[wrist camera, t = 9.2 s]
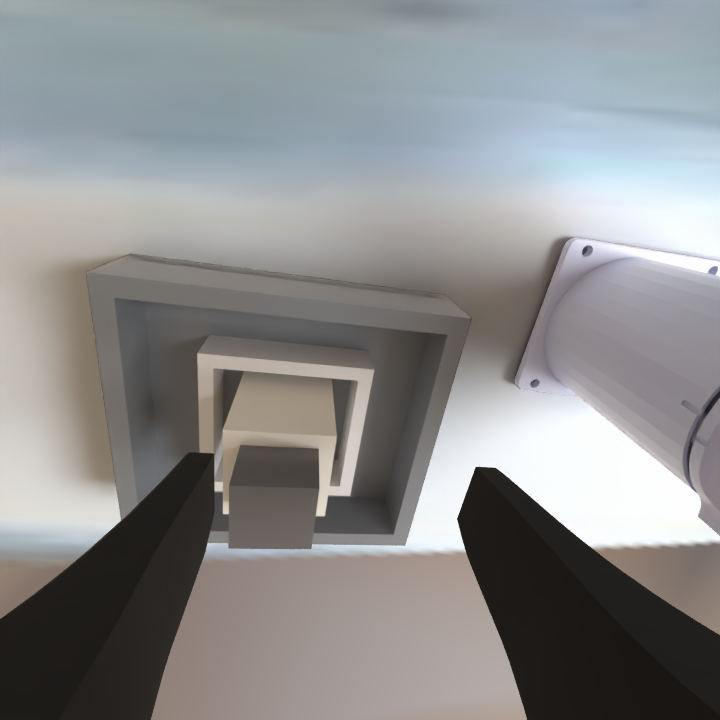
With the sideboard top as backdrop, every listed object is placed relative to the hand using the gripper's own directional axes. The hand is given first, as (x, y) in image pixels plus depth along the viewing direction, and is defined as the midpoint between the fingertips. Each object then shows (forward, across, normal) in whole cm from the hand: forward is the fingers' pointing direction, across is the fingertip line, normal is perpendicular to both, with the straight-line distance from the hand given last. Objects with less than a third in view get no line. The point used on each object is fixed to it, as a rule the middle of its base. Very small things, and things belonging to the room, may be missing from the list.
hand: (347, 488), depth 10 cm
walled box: (+9, +2, +3) cm, 10 cm away
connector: (+8, +2, +3) cm, 9 cm away
